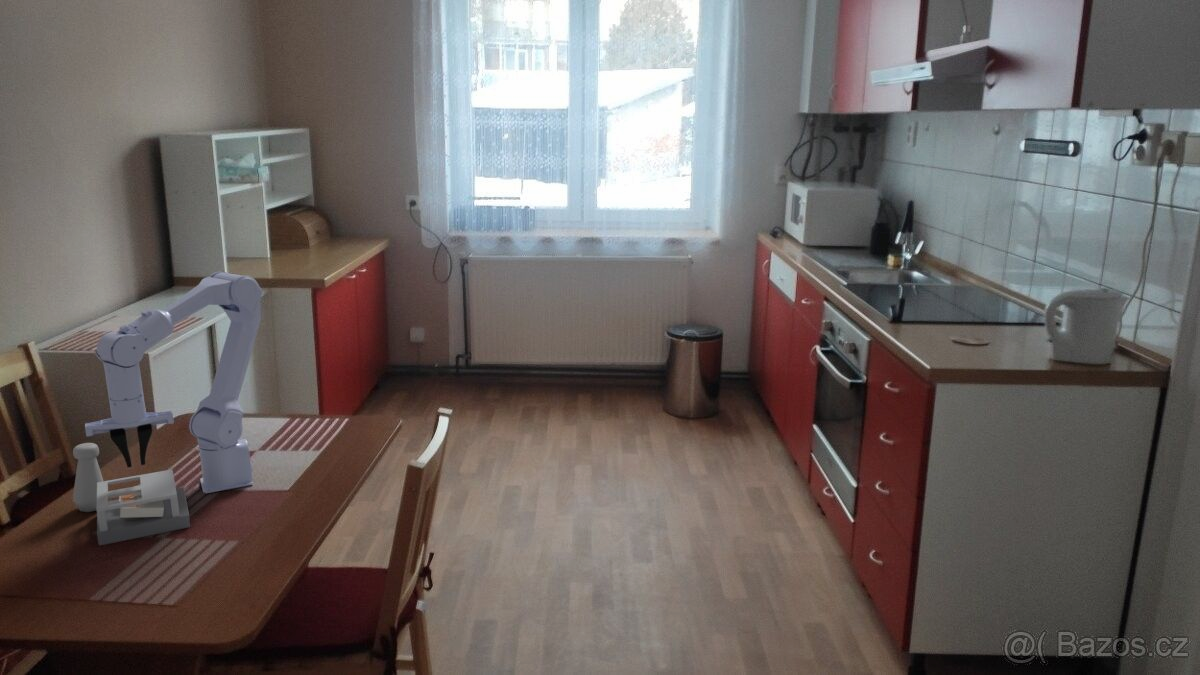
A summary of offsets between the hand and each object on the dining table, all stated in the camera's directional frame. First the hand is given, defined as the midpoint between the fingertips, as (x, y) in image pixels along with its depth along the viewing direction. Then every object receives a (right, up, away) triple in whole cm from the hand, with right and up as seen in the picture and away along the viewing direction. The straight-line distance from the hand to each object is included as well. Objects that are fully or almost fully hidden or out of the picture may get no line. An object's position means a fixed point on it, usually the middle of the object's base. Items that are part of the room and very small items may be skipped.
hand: (136, 464), depth 167 cm
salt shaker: (-12, -9, +5) cm, 16 cm away
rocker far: (0, -6, +2) cm, 6 cm away
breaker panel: (+1, -11, 0) cm, 11 cm away
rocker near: (+3, -7, -4) cm, 9 cm away
